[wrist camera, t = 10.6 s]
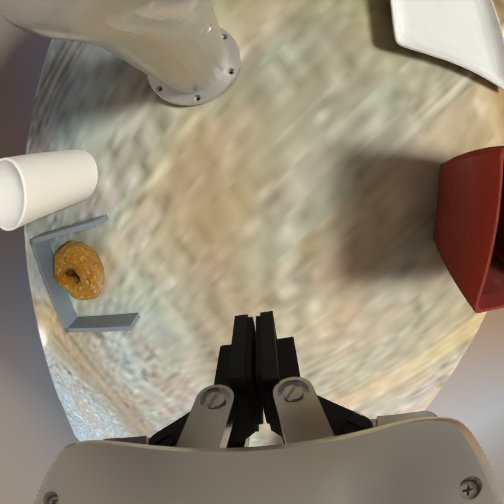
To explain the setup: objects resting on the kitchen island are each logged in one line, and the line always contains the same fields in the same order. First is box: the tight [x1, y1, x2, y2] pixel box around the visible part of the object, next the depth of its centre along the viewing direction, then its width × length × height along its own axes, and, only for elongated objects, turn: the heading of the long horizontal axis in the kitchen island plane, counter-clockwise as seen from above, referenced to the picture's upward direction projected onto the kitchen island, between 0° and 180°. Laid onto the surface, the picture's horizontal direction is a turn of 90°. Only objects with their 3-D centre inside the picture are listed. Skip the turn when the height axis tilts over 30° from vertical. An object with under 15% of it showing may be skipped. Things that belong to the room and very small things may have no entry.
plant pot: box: [434, 146, 504, 313], centre depth 29 cm, size 19×19×17 cm
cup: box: [0, 149, 98, 231], centre depth 29 cm, size 8×8×16 cm
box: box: [30, 215, 140, 332], centre depth 40 cm, size 18×15×4 cm
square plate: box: [390, 0, 504, 90], centre depth 23 cm, size 27×27×4 cm
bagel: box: [54, 241, 104, 300], centre depth 39 cm, size 10×11×5 cm
